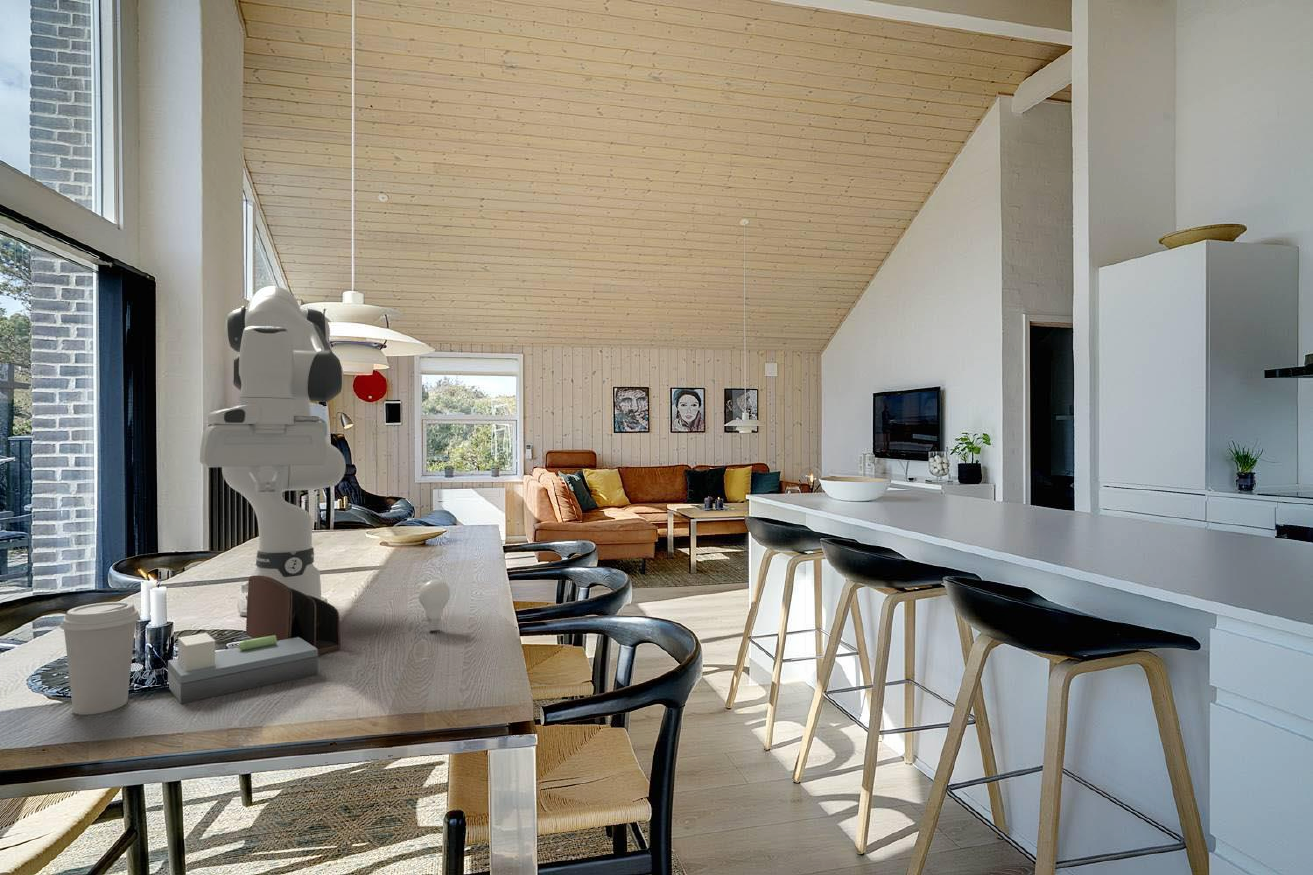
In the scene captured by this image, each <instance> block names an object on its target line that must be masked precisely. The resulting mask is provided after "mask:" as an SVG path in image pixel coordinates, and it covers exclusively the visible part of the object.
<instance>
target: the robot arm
mask: <svg viewBox="0 0 1313 875" xmlns="http://www.w3.org/2000/svg"><path fill="white" fill-rule="evenodd" d="M224 334H225V338H226V340H227V342H228V344H229V346H230V348H231V349H232V350H233V351H234V352H238V355H237V356H235V357H234V358H233V380H232V381H233V382H232V383H233V386H235V388H237V389H238V390H239V393H238V404H237V405H236V406H233V405H232V406H227V407H226V408H224V409H223V408H222V409H218V410H214V411H211V412H210V413H209V414H208V416H207V417H208V418H207V420H208V423H209V424H211V425H209V426H208V427H206V428H205V430H204V431H203V434H202V438H201V443H200V450H199V462H200V463H201V465H202V466H203V467H205V468H221V472H222V473H221V474H222V477H223V480H224V481H225V483H226V484H227V485H228V486H229V487H230V488H231V489H233V490H234V491H235V492H237V493H239V494H240V495H241V496H242V497H244V498H245V499H246V500H247V501H248V502H249V504H250V505H251V507H252V509H253V511H254V514H255V517H256V521H257V526H258V545H259V546H258V550H257V552H256V556H255V560H256V561H255V566H256V568H254V571H253V573H252V574H251V576H267V577H270V578H273V579H275V580H277V581H279V582H281V583H283V584H285V585H286V586H287V587H289V588H292V589H295V590H297V591H300V592H302V593H304V594H305V595H309V596H313V597H316V598H318V599H321V600H323V601H325V602H327V603H328V598H326V597H322V585H321V584H322V583H321V571H320V569H318V568H317V567H316V566H315V565H314V564H313V563H314V562H315V551H314V550H315V549H314V547H312V546H313V519H312V516H311V514H310V513H309V511H307V510H306V509H304V508H302V507H301V506H298V505H295V504H293V503H290V502H288V501H286V500H285V498H284V497H283V493H284V492H287V491H311V490H315V491H317V490H320V489H325V488H331V487H335V486H338V484H339V483H340V482H341V481H342V479H343V478H344V476H345V473H346V468H347V467H346V460H345V456H344V455H343V452H341V451H340V450H339V449H338V448H337V447H336V446H334V445H333V444H331V443H330V442H328V441H327V440H326V437H327V436H328V425H327V422H326V421H325V419H323V418H320V417H319V416H315V415H312V413H311V405H310V401H312V402H322V403H328V402H330V401H332V400H333V399H335V398H336V397H337V396H338V395H339V394H340V393H341V392H342V389H343V385H344V381H345V380H344V369H343V366H342V364H341V360H340V358H339V357H338V356H337V355H336V354H335V353H334V352H333V350H332V349H331V347H330V345H329V340H330V336H331V327H330V324H329V323H328V320H327V319H326V316H325V315H324V313H323V312H322V311H320V310H317V309H312V308H307V309H303V308H300V305H299V302H298V301H297V299H296V297H295V296H294V295H293V294H292V293H291V292H290V291H289V290H288V289H286V288H283V287H281V286H275V285H273V286H271V285H270V286H265V287H262V288H261V289H259V290H258V291H256V292H255V293H254V294H253V295H252V297H251V298H250V300H249V302H248V304H247V307H246V306H245V305H242V306H240V308H237V309H234V310H232V311H231V312H230V313H228V314H227V319H226V321H225V324H224ZM241 593H242V594H246V595H245V597H242V598H239V599H237V608H238V612H239V616H242V617H247V599H248V581H246V582H243V583H241Z"/></svg>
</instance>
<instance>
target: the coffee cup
mask: <svg viewBox="0 0 1313 875" xmlns="http://www.w3.org/2000/svg"><path fill="white" fill-rule="evenodd" d="M140 618H141V616H140V612H139V611H138V609H136V608H135V605H134V603H133V602H131V601H130V602H128V601H107V602H106V601H105V602H97V603H91V604H86V605H80V606H77V607H73V608H71V609H69V610H67V612H66V615H65V617H64V618H62V619H61V621H60V625H59V628H60V629H62V630H63V632H64V641H65V651H66V658H67V667H68V668H67V669H68V678H69V687H70V697H71V698H70V699H71V707H72V713H73V714H75V715H80V716H81V715H82V716H85V715H86V716H88V715H98V714H103V713H107V712H108V713H109V712H111V711H115V710H118V709H120V708H122V707H123V706H125V705H127V703H128V698H129V689H130V677H131V670H132V661H133V650H134V643H135V642H134V641H135V634H136V624H137V621H138V620H139V619H140Z"/></svg>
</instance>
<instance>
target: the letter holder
mask: <svg viewBox="0 0 1313 875" xmlns="http://www.w3.org/2000/svg"><path fill="white" fill-rule="evenodd" d="M247 582H248V593H247V595H248V599H247V616H246V622H245V636H246V635H248V636H250V637H252V638H254V639H256V638H262V637H267V636H273V635H276V638H277V641H279V640H285V639H291V638H296V637H300V638H301V639H303V640H304V641H306V642H307V643H309V644H311V645H312V646H314V647H315V648H317V649H318V656H319V655H324V654H327V653H332V652H336V651H339V650H340V649H341V631H340V629H341V628H340V626H341V624H340V623H341V622H340V613H339V610H338V608H336V607H335V606H334V605H332V604H331V603H327V602H328V601H327V602H325V601H323V600H321V599H318V598H316V597H313V596H309V595H305V594H304V593H302V592H300V591H297V590H295V589H292V588H289V587H287V586H286V585H285V584H283V583H281V582H279V581H277V580H275V579H273V578H270V577H267V576H252V575H251V576H249V578H248V581H247Z"/></svg>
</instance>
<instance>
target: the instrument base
mask: <svg viewBox="0 0 1313 875" xmlns="http://www.w3.org/2000/svg"><path fill="white" fill-rule="evenodd" d="M318 656H319V655H318ZM318 656H316V657H311V658H306V659H301V660H296V661H291V662H286V663H281V664H276V665H271V666H266V667H261V668H256V669H251V670H246V671H241V672H237V673H232V674H227V675H222V676H217V677H212V678H207V679H202V680H197V681H192V682H187V683H182V684H181V683H180V682H179V681H178V680H177V678H176V677H175V676H174V675H173V674H172V672H171V671H170V670H169V669H168V668H167V684H168V683H169V688H168V689H169V691H170V692H171V693H172V694H173V696H174V697H175V698H176V700H177V701H178V703H179V704H180V705H181V704H182V705H183V704H185V703H186V704H187V703H190V702H195V701H200V700H204V699H209V698H214V697H218V696H223V695H227V694H232V693H236V692H237V693H238V692H240V691H246V690H250V689H255V688H259V687H264V686H268V685H274V684H279V683H282V682H283V683H284V682H288V681H291V680H296V679H300V678H301V679H302V678H305V677H310V676H314V675H318V674H319V670H318V669H319V657H318Z"/></svg>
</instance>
